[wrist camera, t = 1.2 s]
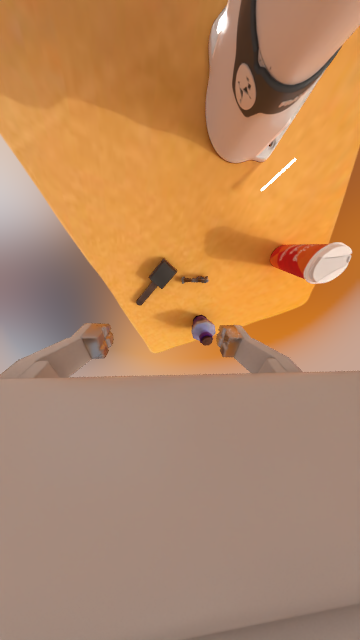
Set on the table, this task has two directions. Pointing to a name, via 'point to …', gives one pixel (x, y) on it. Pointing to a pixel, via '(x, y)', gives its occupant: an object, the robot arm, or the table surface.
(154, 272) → the mallet
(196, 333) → the potion bottle
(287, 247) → the coffee cup
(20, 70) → the table surface
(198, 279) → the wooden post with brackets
